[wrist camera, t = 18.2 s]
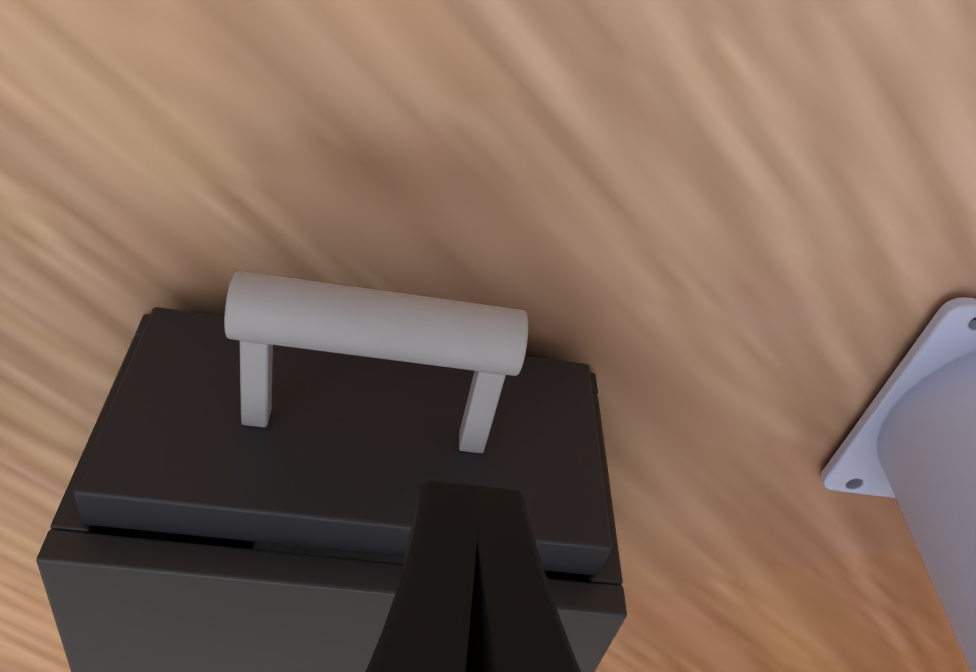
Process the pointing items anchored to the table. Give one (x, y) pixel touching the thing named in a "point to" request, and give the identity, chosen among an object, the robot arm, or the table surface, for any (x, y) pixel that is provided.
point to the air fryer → (255, 596)
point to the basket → (343, 423)
